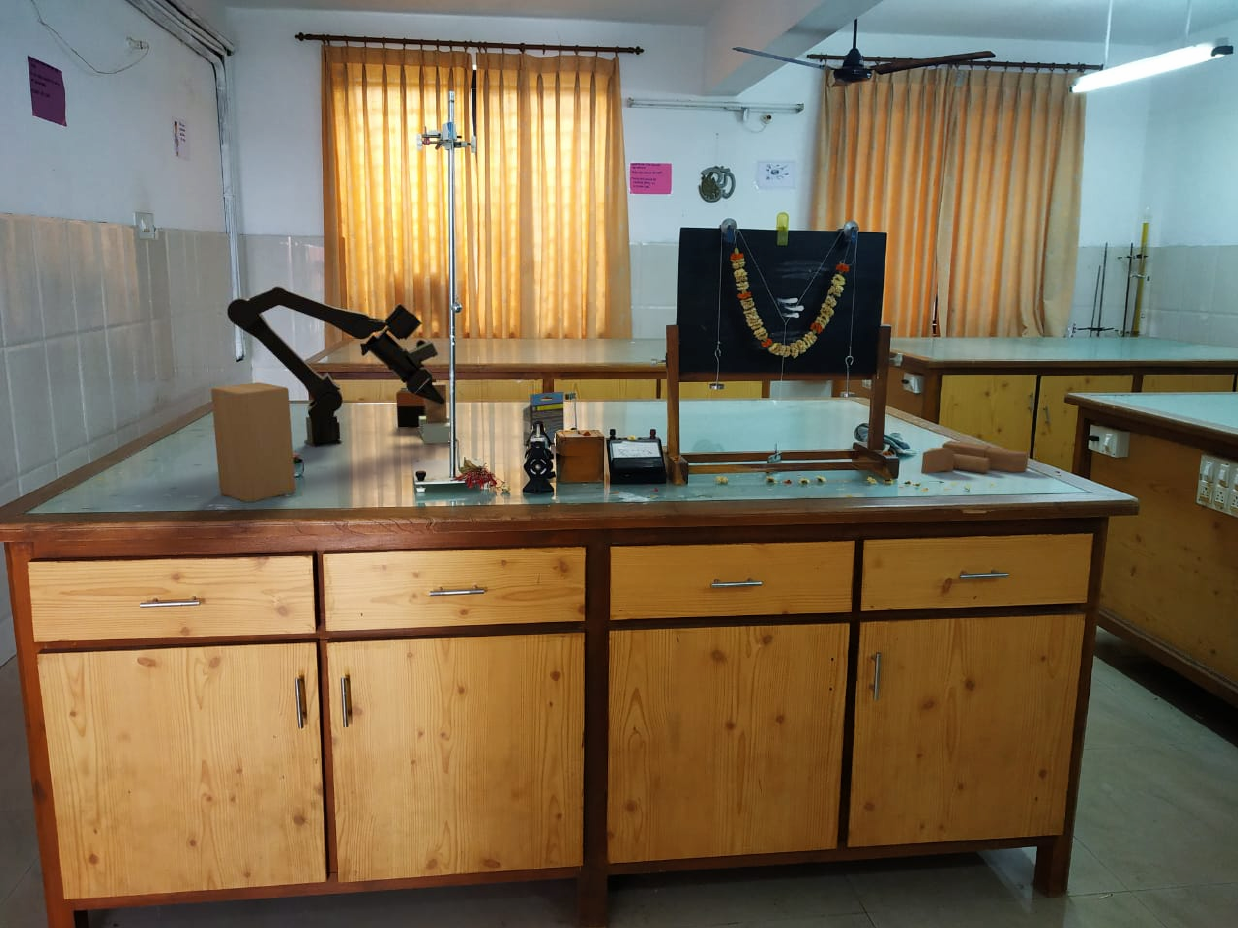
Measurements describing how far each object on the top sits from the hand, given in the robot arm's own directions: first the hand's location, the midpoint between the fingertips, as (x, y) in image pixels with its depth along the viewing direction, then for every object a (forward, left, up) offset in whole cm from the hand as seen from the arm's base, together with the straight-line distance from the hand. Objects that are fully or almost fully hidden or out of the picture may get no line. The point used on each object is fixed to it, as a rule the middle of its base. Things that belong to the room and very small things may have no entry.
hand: (441, 399), depth 227 cm
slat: (-1, +1, -8) cm, 8 cm away
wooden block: (-53, -23, -9) cm, 59 cm away
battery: (+1, +16, -9) cm, 19 cm away
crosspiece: (-1, +1, -9) cm, 9 cm away
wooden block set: (+69, -99, -10) cm, 121 cm away
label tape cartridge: (+15, -21, -9) cm, 27 cm away
